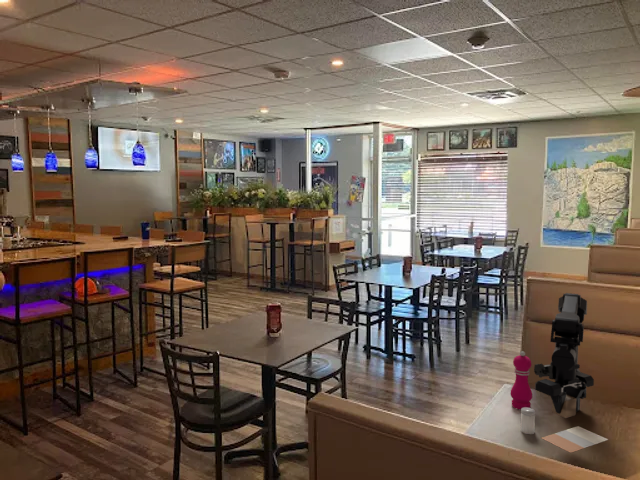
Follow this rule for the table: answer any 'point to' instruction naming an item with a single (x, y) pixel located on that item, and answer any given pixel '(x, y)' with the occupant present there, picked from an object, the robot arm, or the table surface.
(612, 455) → the table surface
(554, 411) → the block
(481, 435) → the table surface
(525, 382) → the pepper mill
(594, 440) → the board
